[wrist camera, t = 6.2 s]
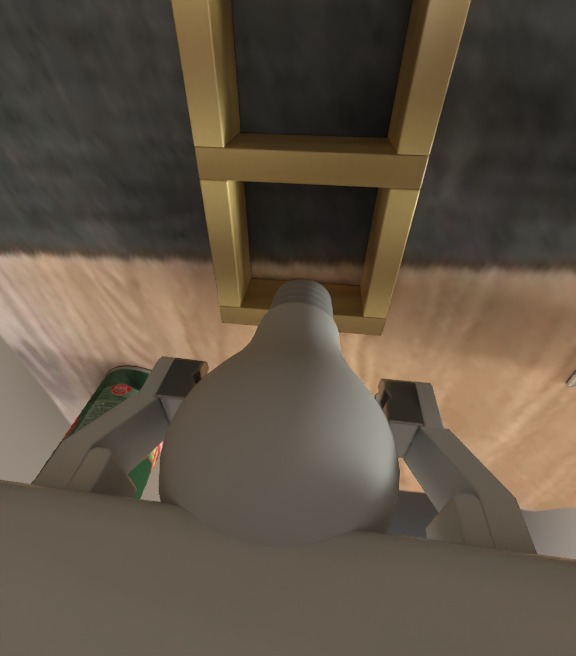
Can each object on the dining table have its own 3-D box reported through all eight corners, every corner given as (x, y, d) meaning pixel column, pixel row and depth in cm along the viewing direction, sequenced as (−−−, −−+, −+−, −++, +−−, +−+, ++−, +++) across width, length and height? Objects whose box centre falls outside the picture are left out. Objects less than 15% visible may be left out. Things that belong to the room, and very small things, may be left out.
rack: (180, -163, 11) (134, -225, 9) (488, -173, 11) (537, -246, 8) (234, 293, 24) (221, 323, 22) (376, 303, 23) (381, 336, 21)
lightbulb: (328, 197, 12) (302, 544, 4) (396, 312, 15) (467, 645, 7) (210, 272, 15) (44, 565, 6) (287, 356, 18) (242, 630, 9)
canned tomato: (89, 375, 33) (5, 485, 25) (147, 357, 30) (75, 475, 22) (141, 419, 37) (86, 525, 29) (196, 407, 34) (153, 521, 26)
